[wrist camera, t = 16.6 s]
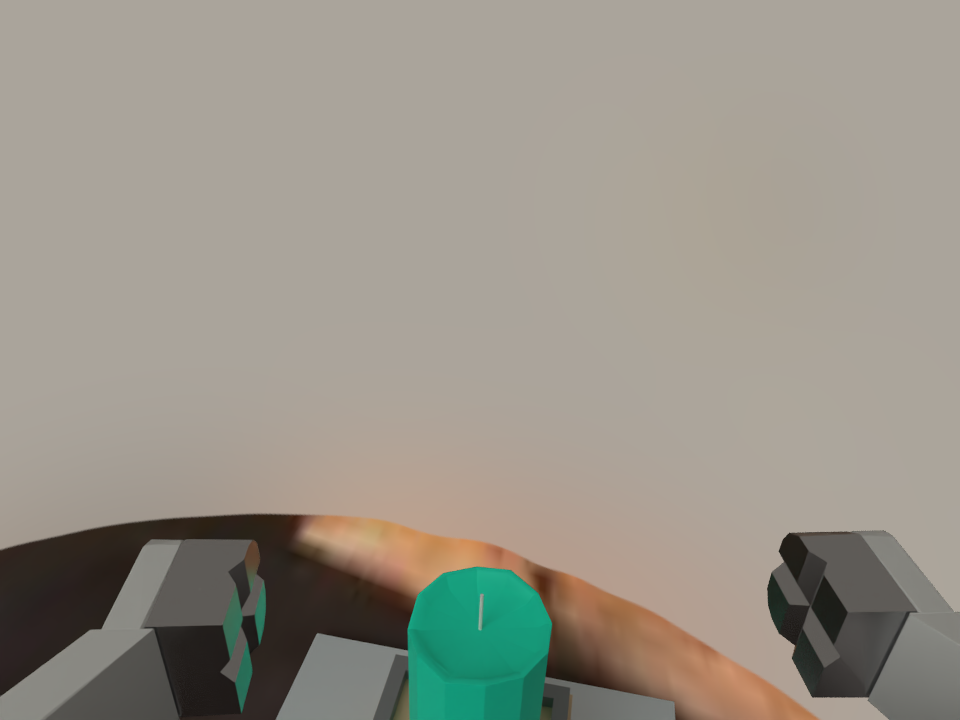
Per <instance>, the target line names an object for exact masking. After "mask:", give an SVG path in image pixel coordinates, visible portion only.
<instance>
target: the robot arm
mask: <svg viewBox="0 0 960 720" xmlns="http://www.w3.org/2000/svg"><path fill="white" fill-rule="evenodd" d="M779 553H780V554H781V556H782V558H783V560H784V563H782V564H781V565H780V566H779V567H778V568H776V569H775V570H774V571H773V572H772V573H771V577H770V580H769V584H768V588H767V590H768V606H769V610H770V613H771V617H772V620H773V622H774V624H775V626H776V628H777V630H778V632H779V634H781V635H782V636H783V637H785V638H786V639H787V640H789V641H790V642H791V643H792V644H794V645H795V649H794V653H793V656H792V659H793V661H794V663H795V665H796V667H797V669H798V671H799V673H800V675H801V677H802V678H803V681H804V683H805V685H806V686H807V688H808V690H809V692H810V694H811V696H812V697H869V699H868V701H869V702H870V703H871V704H872V705H873V706H875V707H876V708H877V709H878V710H879V711H880V712H881V713H883V714H884V715H885V716H886V717H887V718H888V719H889V720H960V612H954V611H953V610H952V608H951V607H950V606H949V605H948V604H947V602H946V601H945V600H944V599H943V597H942V596H941V595H940V594H939V592H938V591H937V590H936V589H935V587H934V586H933V585H932V584H931V582H930V581H929V580H928V579H927V577H926V576H925V575H924V574H923V572H922V571H921V570H920V569H919V567H918V566H917V565H916V564H915V563H914V561H913V560H912V559H911V558H910V556H909V555H908V554H907V553H906V551H905V550H904V549H903V548H902V546H901V545H900V544H899V543H898V542H897V540H896V539H895V538H894V537H893V536H892V535H891V534H889V533H887V532H886V531H852V532H807V533H789V534H788V535H787V536H786V537H785V538H784V539H783V541H782V544H781V546H780V549H779ZM259 561H260V555H259V550H258V545H257V542H255V541H254V540H208V539H186V540H152V539H151V540H150V541H149V542H148V543H147V544H146V545H145V546H144V547H143V548H142V550H141V552H140V554H139V556H138V558H137V560H136V562H135V564H134V566H133V568H132V570H131V572H130V574H129V576H128V578H127V580H126V582H125V584H124V585H123V587H122V589H121V591H120V593H119V595H118V597H117V599H116V601H115V603H114V605H113V607H112V609H111V611H110V613H109V615H108V617H107V619H106V621H105V623H104V625H103V627H102V629H100V630H90V631H88V632H87V633H85V634H84V635H83V636H81V637H80V638H79V639H77V640H76V641H75V642H73V643H72V644H71V645H69V646H68V647H67V648H65V649H64V650H63V651H61V652H60V653H59V654H57V655H56V656H55V657H53V658H52V659H51V660H49V661H48V662H46V663H45V664H44V665H42V666H41V667H40V668H38V669H37V670H36V671H34V672H33V673H32V674H30V675H29V676H28V677H26V678H25V679H24V680H22V681H21V682H20V683H18V684H17V685H16V686H14V687H13V688H12V689H10V690H9V691H7V692H6V693H5V694H3V695H2V696H1V697H0V720H179V717H190V716H208V715H225V714H241V713H242V710H243V706H244V702H245V698H246V695H247V691H248V687H249V683H250V680H251V676H252V672H253V671H252V666H251V660H250V653H251V652H253V651H254V650H255V649H256V648H257V647H258V646H259V645H260V641H261V637H262V632H263V628H264V620H265V611H266V592H265V586H264V580H263V579H261V578H260V577H259V576H258V575H257V574H256V572H257V568H258V565H259Z"/></svg>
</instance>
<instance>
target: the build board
mask: <svg viewBox="0 0 960 720" xmlns="http://www.w3.org/2000/svg"><path fill="white" fill-rule="evenodd" d="M276 720H410V717H409V670H408V651H407V650H402V649H397V648H391V647H386V646H381V645H376V644H370V643H365V642H360V641H355V640H350V639H344V638H339V637H334V636H329V635H323V634H318V633H317V635H316V637H315V639H314V641H313V643H312V645H311V647H310V649H309V651H308V653H307V655H306V658H305V660H304V662H303V664H302V666H301V668H300V670H299V672H298V674H297V676H296V678H295V681H294V683H293V685H292V687H291V689H290V691H289V693H288V695H287V697H286V699H285V701H284V704H283V706H282V708H281V710H280V712H279V714H278V716H277V718H276ZM540 720H675V706H674V702H673V701H668V700H663V699H658V698H652V697H647V696H642V695H637V694H631V693H626V692H621V691H616V690H611V689H605V688H600V687H595V686H590V685H584V684H579V683H574V682H569V681H564V680H558V679H553V678H548V677H545V684H544V691H543V699H542V707H541V715H540Z"/></svg>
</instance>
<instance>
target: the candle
mask: <svg viewBox="0 0 960 720" xmlns="http://www.w3.org/2000/svg"><path fill="white" fill-rule="evenodd" d="M551 629H552V622H551V620H550V618H549V616H548V614H547V611H546V609H545V607H544V605H543V603H542V600H541V598H540V596H539V594H538V593H537V592H536V591H535V590H534V589H533V588H532V587H530V586H529V585H528V584H527V583H526V582H524V581H523V580H522V579H521V578H520V577H518V576H517V575H516V574H515V573H514V572H512V571H511V570H505V569H495V568H485V567H472V568H467V569H462V570H457V571H452V572H447V573H443V574H442V575H440V576H439V577H438V578H437V579H436V580H435V581H433V582H432V583H431V584H430V585H429V586H427V587H426V588H425V589H424V590H423V591H422V592H420V593H419V594H418V596H417V599H416V603H415V606H414V609H413V613H412V616H411V620H410V623H409V626H408V670H409V717H410V720H540V715H541V707H542V699H543V691H544V684H545V676H546V668H547V660H548V652H549V644H550V636H551Z"/></svg>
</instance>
